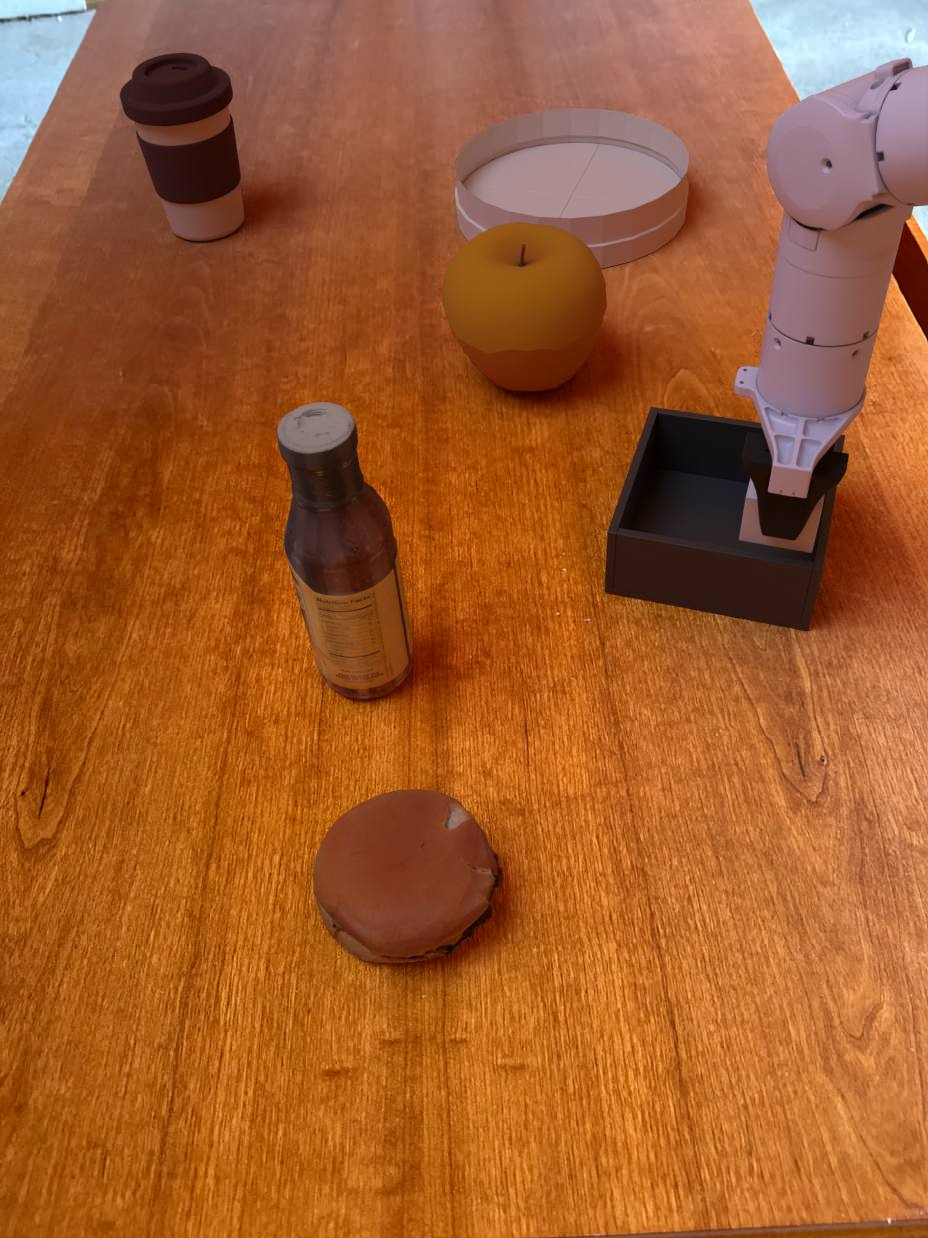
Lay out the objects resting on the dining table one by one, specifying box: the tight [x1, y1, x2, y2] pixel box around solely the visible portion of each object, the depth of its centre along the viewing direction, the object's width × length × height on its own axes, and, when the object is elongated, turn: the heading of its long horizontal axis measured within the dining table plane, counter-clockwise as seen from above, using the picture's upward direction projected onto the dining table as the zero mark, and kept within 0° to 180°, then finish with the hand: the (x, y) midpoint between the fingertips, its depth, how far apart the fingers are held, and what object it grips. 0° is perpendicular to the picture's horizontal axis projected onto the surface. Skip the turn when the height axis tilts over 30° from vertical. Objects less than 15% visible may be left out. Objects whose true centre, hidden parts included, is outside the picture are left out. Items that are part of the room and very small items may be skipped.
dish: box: [454, 107, 690, 269], centre depth 108 cm, size 22×22×5 cm
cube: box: [739, 478, 824, 553], centre depth 70 cm, size 4×4×4 cm
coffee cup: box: [119, 52, 245, 242], centre depth 106 cm, size 10×10×15 cm
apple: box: [440, 222, 608, 392], centre depth 88 cm, size 13×13×11 cm
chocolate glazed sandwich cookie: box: [312, 788, 504, 964], centre depth 60 cm, size 10×9×5 cm
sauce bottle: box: [276, 401, 414, 700], centre depth 65 cm, size 6×6×20 cm
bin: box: [604, 406, 846, 632], centre depth 76 cm, size 13×13×6 cm
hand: (784, 508), depth 70 cm, fingers closed on cube, 4 cm apart
